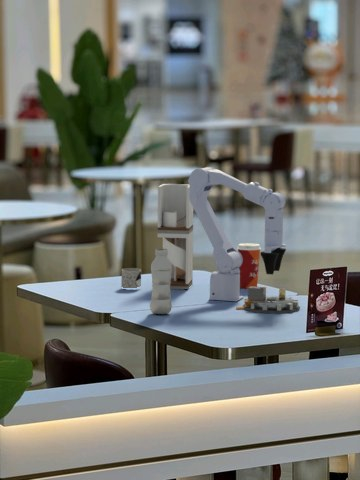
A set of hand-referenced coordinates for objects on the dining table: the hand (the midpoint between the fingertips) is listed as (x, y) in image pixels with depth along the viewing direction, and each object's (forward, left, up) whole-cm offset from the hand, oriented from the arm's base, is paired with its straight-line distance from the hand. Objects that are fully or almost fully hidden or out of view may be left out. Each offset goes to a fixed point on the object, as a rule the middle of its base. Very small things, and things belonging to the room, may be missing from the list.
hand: (272, 272), depth 395 cm
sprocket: (+2, -9, -10) cm, 14 cm away
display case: (-39, +17, -10) cm, 44 cm away
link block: (-2, -12, -7) cm, 14 cm away
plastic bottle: (-27, -31, -10) cm, 42 cm away
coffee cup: (-15, +25, -10) cm, 31 cm away
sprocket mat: (+2, -9, -10) cm, 14 cm away
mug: (-52, +9, -10) cm, 54 cm away
